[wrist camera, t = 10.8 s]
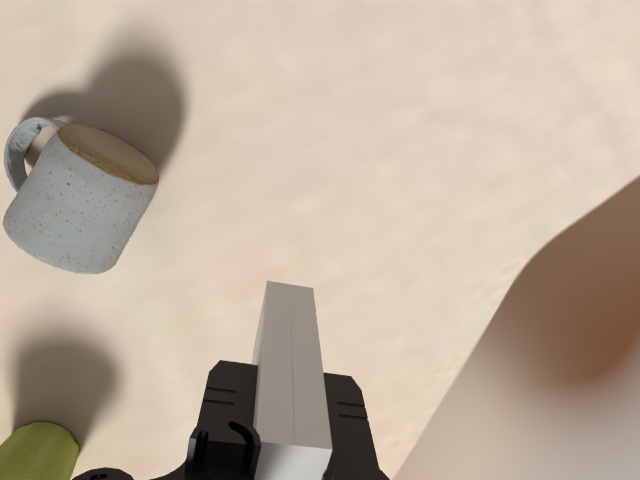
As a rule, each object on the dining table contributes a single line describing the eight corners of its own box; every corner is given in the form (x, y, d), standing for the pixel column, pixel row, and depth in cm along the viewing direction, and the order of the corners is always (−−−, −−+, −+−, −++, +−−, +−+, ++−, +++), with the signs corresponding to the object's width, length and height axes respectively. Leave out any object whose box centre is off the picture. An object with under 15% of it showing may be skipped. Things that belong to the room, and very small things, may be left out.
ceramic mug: (177, 166, 35) (146, 188, 28) (129, 251, 37) (88, 293, 30) (43, 85, 33) (-28, 87, 26) (-1, 181, 35) (-78, 207, 28)
